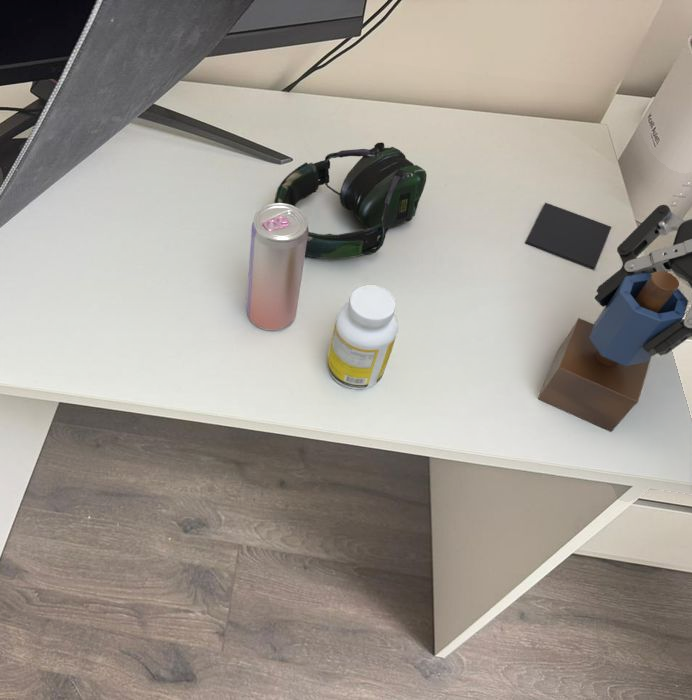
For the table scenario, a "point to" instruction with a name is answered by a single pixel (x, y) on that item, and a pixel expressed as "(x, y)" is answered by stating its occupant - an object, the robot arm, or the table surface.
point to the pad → (569, 235)
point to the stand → (601, 368)
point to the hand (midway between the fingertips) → (622, 326)
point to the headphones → (360, 198)
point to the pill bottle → (363, 337)
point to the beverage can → (276, 265)
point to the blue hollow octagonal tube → (633, 322)
